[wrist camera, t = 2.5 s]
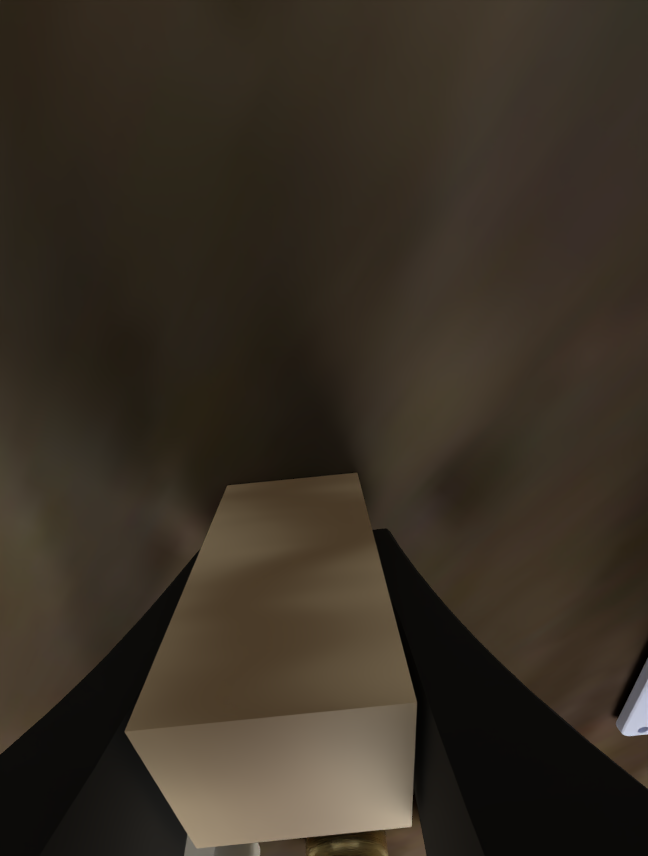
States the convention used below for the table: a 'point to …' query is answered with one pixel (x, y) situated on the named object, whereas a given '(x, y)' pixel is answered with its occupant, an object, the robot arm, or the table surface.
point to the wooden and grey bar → (282, 675)
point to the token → (348, 844)
